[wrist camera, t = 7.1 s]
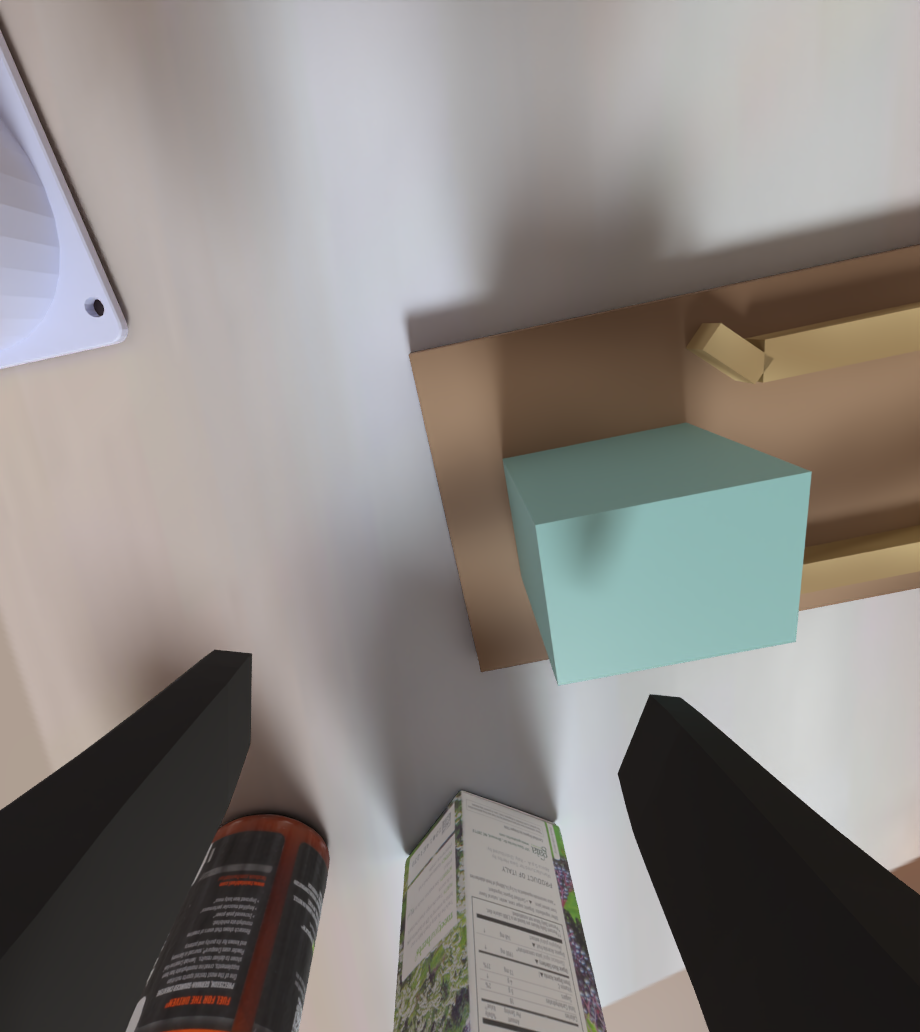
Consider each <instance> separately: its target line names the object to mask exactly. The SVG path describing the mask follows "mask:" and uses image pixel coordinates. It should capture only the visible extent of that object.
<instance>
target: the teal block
mask: <svg viewBox="0 0 920 1032" xmlns="http://www.w3.org/2000/svg"><path fill="white" fill-rule="evenodd" d="M502 460H503V466H504V472H505V478H506V484H507V491H508V497H509V503H510V509H511V515H512V521H513V528H514V534H515V540H516V546H517V552H518V558H519V565H520V571H521V577H522V581H523V584H524V586H525V589H526V592H527V595H528V598H529V601H530V604H531V607H532V610H533V613H534V616H535V619H536V622H537V625H538V628H539V631H540V634H541V636H542V639H543V642H544V645H545V648H546V651H547V654H548V657H549V660H550V663H551V666H552V669H553V672H554V675H555V678H556V681H557V684H558V686H559V685H565V684H570V683H575V682H581V681H586V680H592V679H597V678H602V677H608V676H613V675H619V674H624V673H629V672H635V671H640V670H646V669H651V668H657V667H662V666H667V665H673V664H678V663H684V662H689V661H694V660H700V659H705V658H711V657H716V656H721V655H727V654H732V653H738V652H743V651H748V650H754V649H759V648H765V647H770V646H776V645H781V644H786V643H792V642H796V633H797V622H798V612H799V601H800V590H801V580H802V569H803V559H804V548H805V537H806V527H807V516H808V505H809V495H810V484H811V473H812V471H809V470H806V469H804V468H801V467H799V466H796V465H794V464H791V463H789V462H786V461H783V460H781V459H778V458H776V457H773V456H771V455H768V454H766V453H763V452H760V451H758V450H755V449H753V448H750V447H748V446H745V445H743V444H740V443H737V442H735V441H732V440H730V439H727V438H725V437H722V436H720V435H717V434H714V433H712V432H709V431H707V430H704V429H702V428H699V427H697V426H694V425H691V424H689V423H681V424H676V425H671V426H666V427H661V428H656V429H651V430H646V431H641V432H636V433H631V434H626V435H621V436H616V437H611V438H606V439H601V440H596V441H590V442H585V443H580V444H575V445H570V446H565V447H560V448H555V449H550V450H545V451H540V452H535V453H530V454H525V455H520V456H515V457H510V458H505V459H502Z"/></svg>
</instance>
